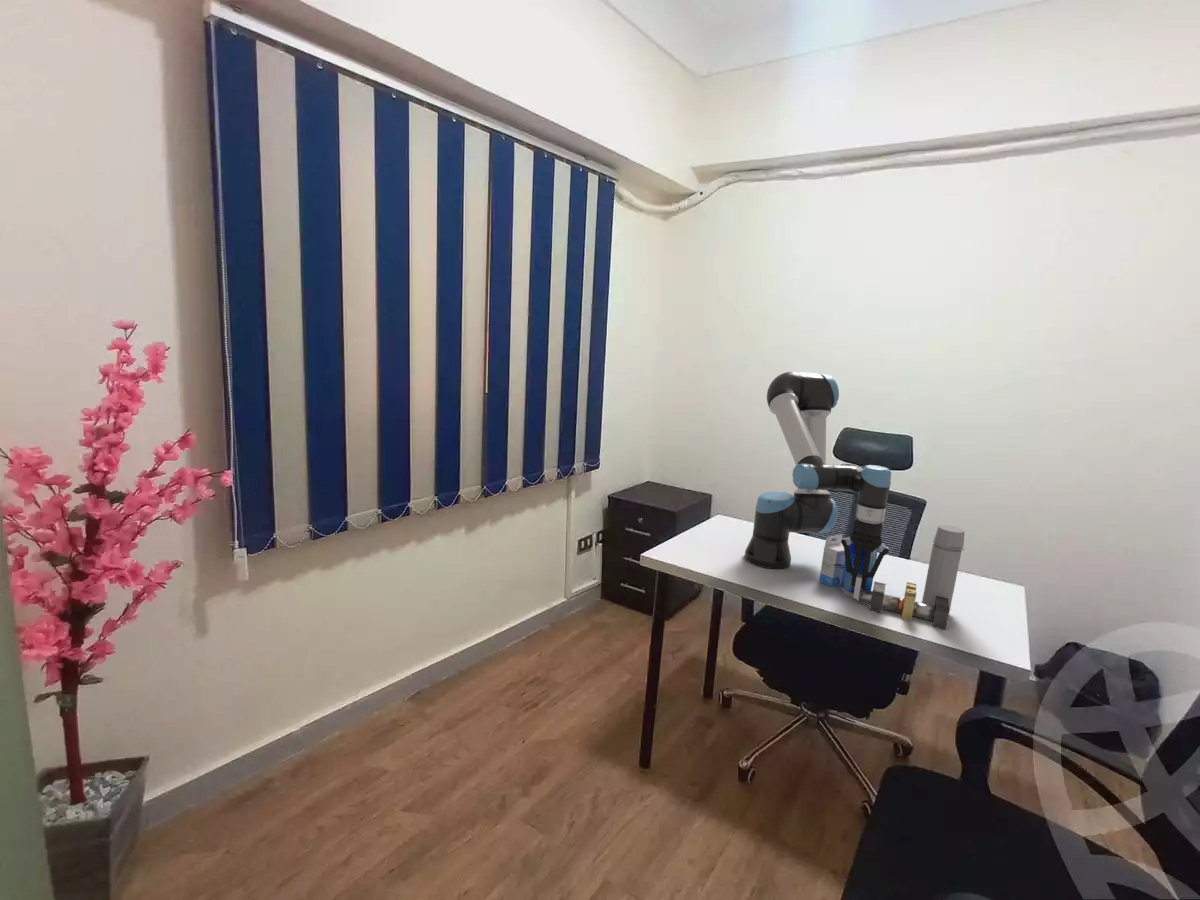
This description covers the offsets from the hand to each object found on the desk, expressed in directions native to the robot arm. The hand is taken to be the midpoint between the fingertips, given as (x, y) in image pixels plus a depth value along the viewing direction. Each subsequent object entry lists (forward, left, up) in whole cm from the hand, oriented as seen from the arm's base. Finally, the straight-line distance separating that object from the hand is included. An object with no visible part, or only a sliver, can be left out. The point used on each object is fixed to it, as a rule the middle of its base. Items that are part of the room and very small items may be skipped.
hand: (856, 597), depth 174 cm
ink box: (-7, +12, -2) cm, 14 cm away
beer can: (-1, +7, -2) cm, 7 cm away
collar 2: (+22, 0, -2) cm, 22 cm away
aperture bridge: (+14, 0, -2) cm, 14 cm away
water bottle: (+21, +9, -2) cm, 23 cm away
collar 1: (+6, 0, -2) cm, 6 cm away
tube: (+12, 0, -1) cm, 12 cm away
